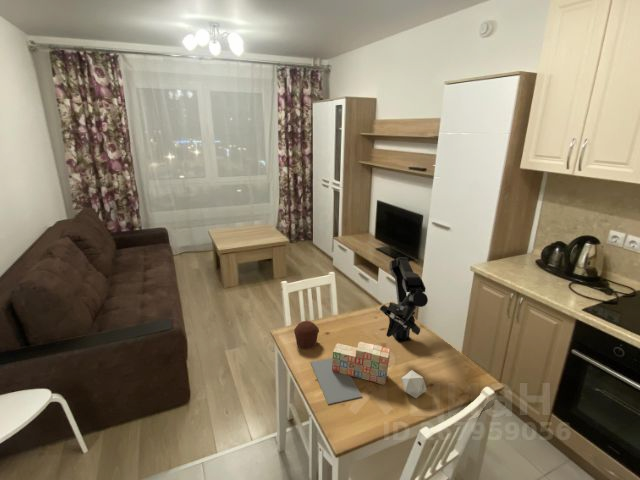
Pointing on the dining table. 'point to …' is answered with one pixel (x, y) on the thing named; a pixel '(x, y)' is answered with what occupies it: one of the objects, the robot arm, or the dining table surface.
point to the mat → (334, 382)
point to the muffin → (306, 334)
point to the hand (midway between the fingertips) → (387, 336)
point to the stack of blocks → (362, 361)
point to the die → (413, 384)
